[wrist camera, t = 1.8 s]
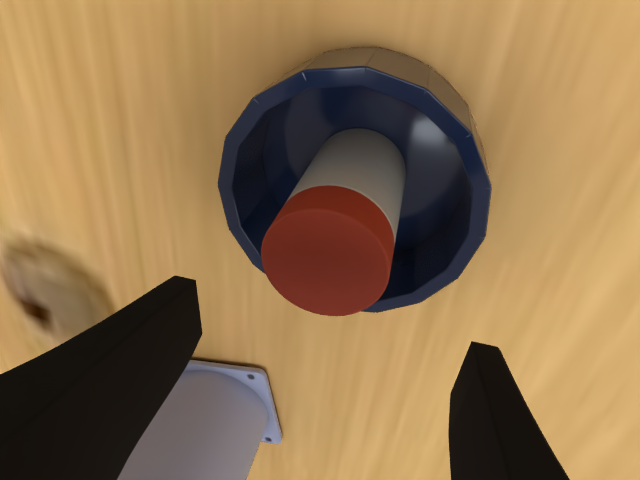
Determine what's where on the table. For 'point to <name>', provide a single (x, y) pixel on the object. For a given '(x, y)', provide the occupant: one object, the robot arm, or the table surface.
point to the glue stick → (339, 226)
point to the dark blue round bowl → (387, 119)
